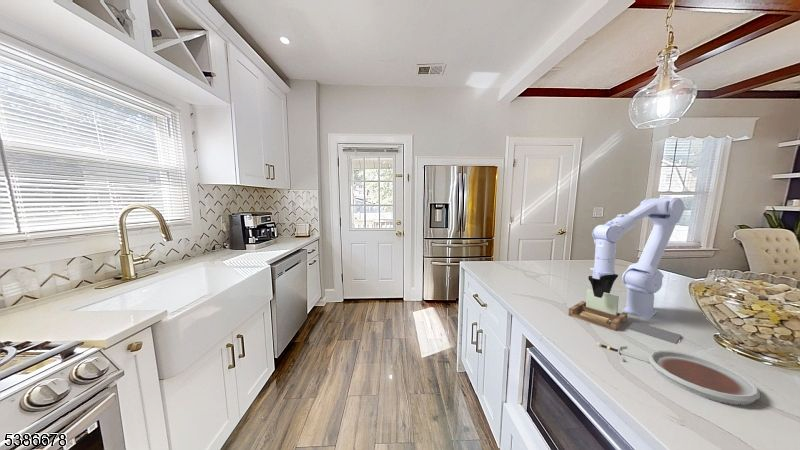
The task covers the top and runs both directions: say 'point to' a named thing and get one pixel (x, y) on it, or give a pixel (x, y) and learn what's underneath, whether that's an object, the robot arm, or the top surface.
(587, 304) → the board
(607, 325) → the rack
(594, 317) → the offcut top
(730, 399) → the frying pan
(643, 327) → the mat
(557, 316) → the top surface
